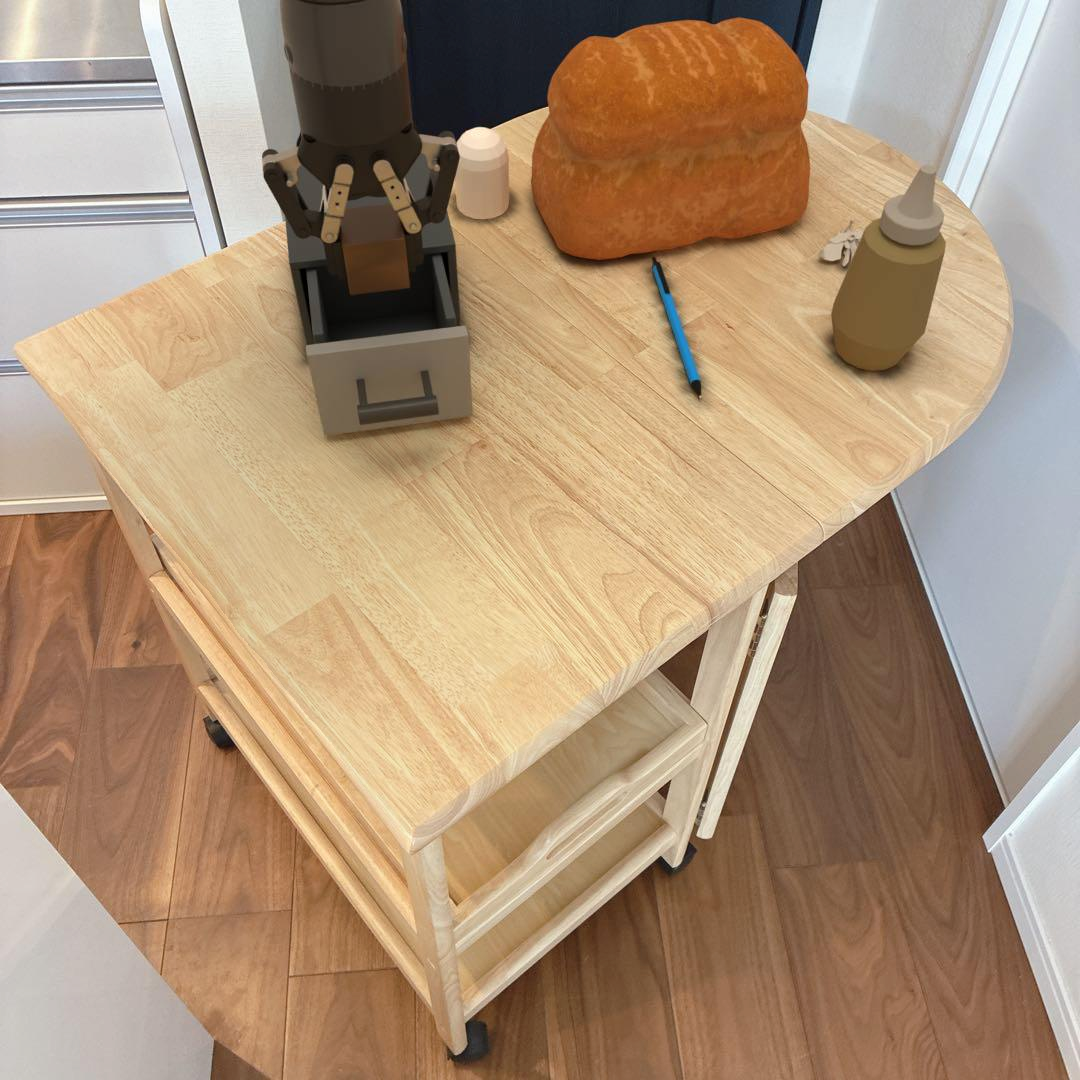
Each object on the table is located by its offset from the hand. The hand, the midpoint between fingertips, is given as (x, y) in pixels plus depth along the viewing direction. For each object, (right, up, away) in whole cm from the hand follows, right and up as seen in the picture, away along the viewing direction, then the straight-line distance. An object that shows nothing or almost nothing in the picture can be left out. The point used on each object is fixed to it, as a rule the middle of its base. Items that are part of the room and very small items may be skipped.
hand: (376, 269), depth 81 cm
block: (0, 0, 0) cm, 0 cm away
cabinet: (-2, +2, +17) cm, 17 cm away
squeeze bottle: (+42, -4, +14) cm, 44 cm away
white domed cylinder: (+7, +13, +27) cm, 30 cm away
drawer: (0, -8, +9) cm, 12 cm away
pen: (+25, -2, +15) cm, 29 cm away
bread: (+25, +13, +26) cm, 39 cm away
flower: (+43, +6, +21) cm, 49 cm away
